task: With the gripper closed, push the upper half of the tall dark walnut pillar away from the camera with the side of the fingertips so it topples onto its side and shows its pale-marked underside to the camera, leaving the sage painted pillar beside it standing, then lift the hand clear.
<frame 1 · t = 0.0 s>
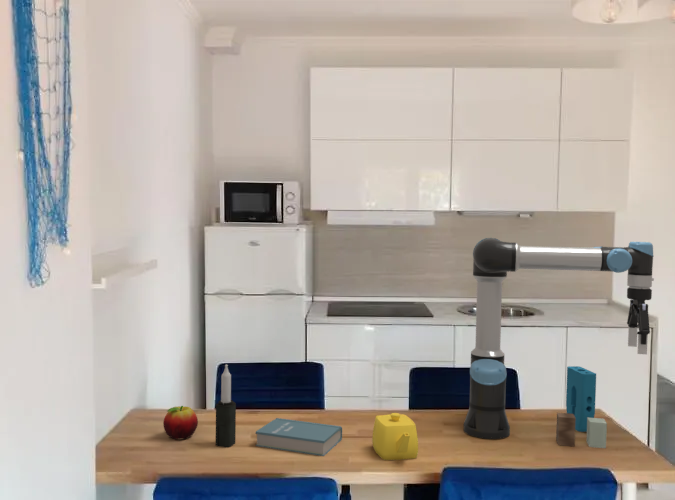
hand: (637, 350, 220), 28 cm above the table, fingers open, 13 cm apart
book: (299, 444, 205), on the table
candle: (225, 444, 202), on the table
fruit: (180, 437, 209), on the table
block: (579, 428, 225), on the table
sage pillar: (596, 445, 208), on the table
walnut pillar: (565, 443, 208), on the table
teapot: (395, 453, 197), on the table
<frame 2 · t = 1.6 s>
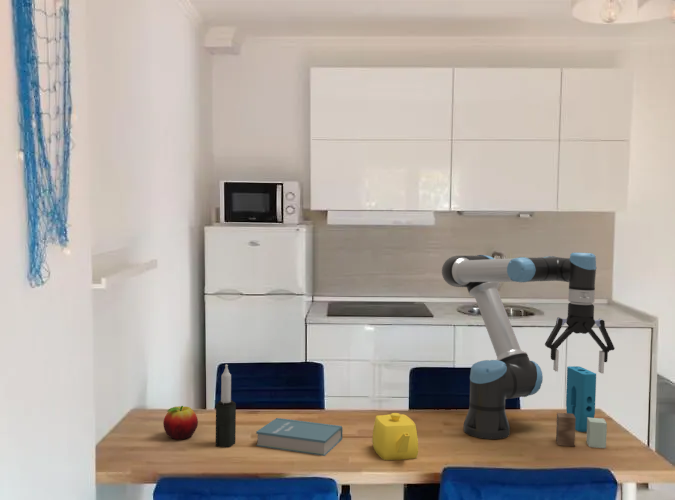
hand: (578, 371, 201), 25 cm above the table, fingers open, 13 cm apart
nothing on the table moved.
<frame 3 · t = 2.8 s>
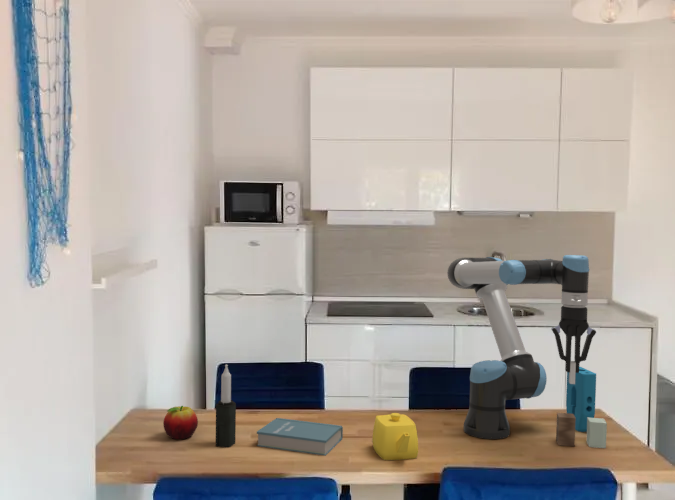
hand: (571, 382, 199), 22 cm above the table, fingers closed
nothing on the table moved.
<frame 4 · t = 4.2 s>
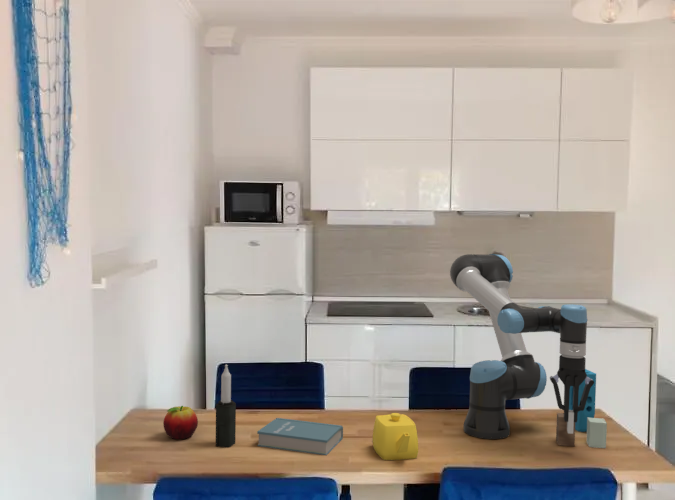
hand: (570, 432, 199), 7 cm above the table, fingers closed
nothing on the table moved.
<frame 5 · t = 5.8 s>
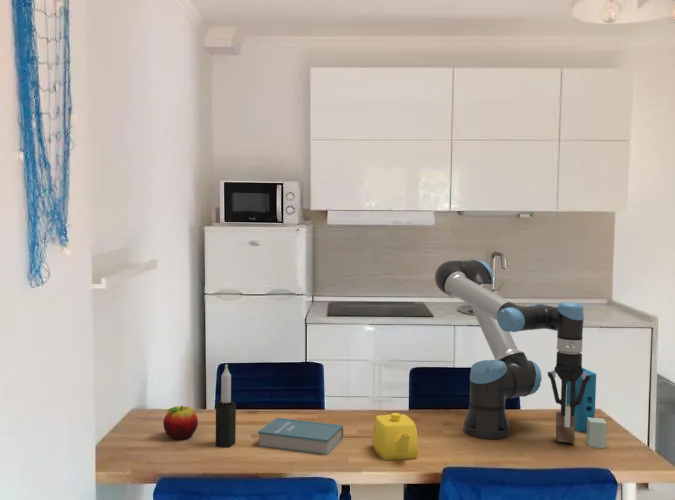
hand: (566, 425, 206), 6 cm above the table, fingers closed
walnut pillar: (565, 441, 208), on the table, tilted 14°, touching gripper
everything else where it was.
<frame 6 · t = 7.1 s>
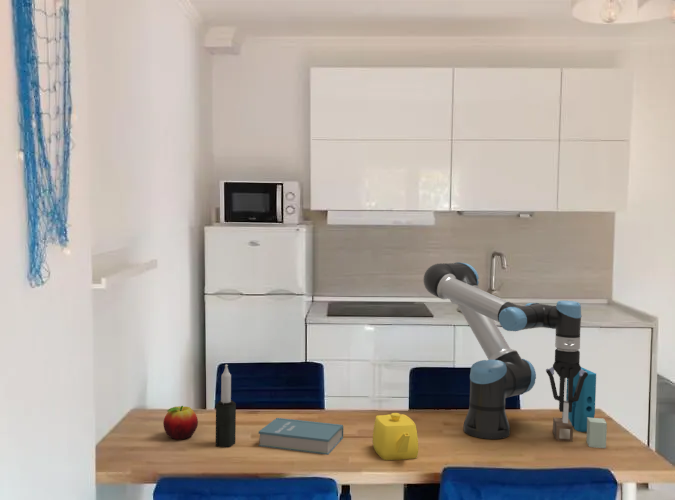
hand: (565, 421, 210), 6 cm above the table, fingers closed
walnut pillar: (564, 433, 211), point 2 cm above the table, tilted 90°
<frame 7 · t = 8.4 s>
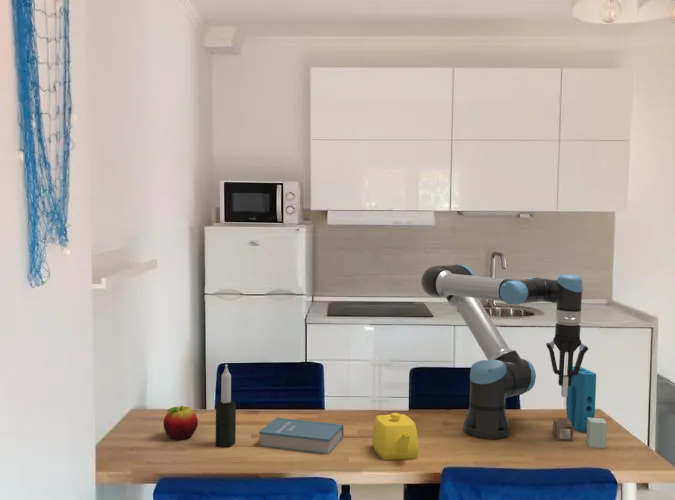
hand: (564, 395, 210), 15 cm above the table, fingers closed
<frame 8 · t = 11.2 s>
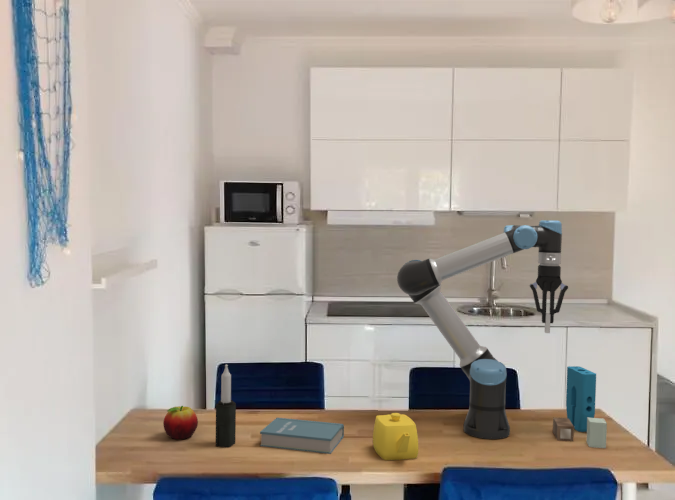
hand: (547, 332, 227), 32 cm above the table, fingers closed
at the end: walnut pillar tilted 90°; walnut pillar inside the target area (3.9 cm from its centre), point 2.3 cm above the table; sage pillar tilted 0° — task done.
